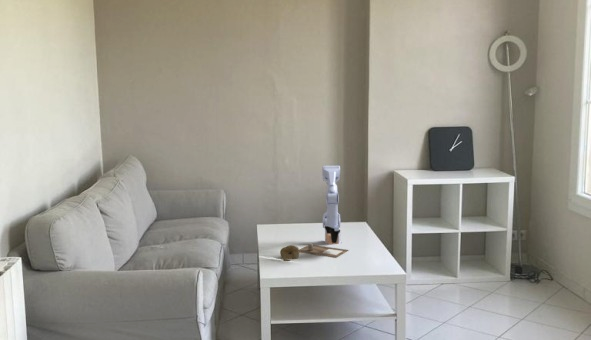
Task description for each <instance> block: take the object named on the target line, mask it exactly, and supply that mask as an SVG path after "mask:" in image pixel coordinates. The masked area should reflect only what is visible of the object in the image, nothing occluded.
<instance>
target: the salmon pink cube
mask: <svg viewBox="0 0 591 340" xmlns="http://www.w3.org/2000/svg"><path fill="white" fill-rule="evenodd" d="M326 243H328V244H327V245H339V244H340V243H339V235H338V238H337V242H336V243H332V239H331V234H330V233H329V234H326ZM326 243H325V244H326Z"/></svg>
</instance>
